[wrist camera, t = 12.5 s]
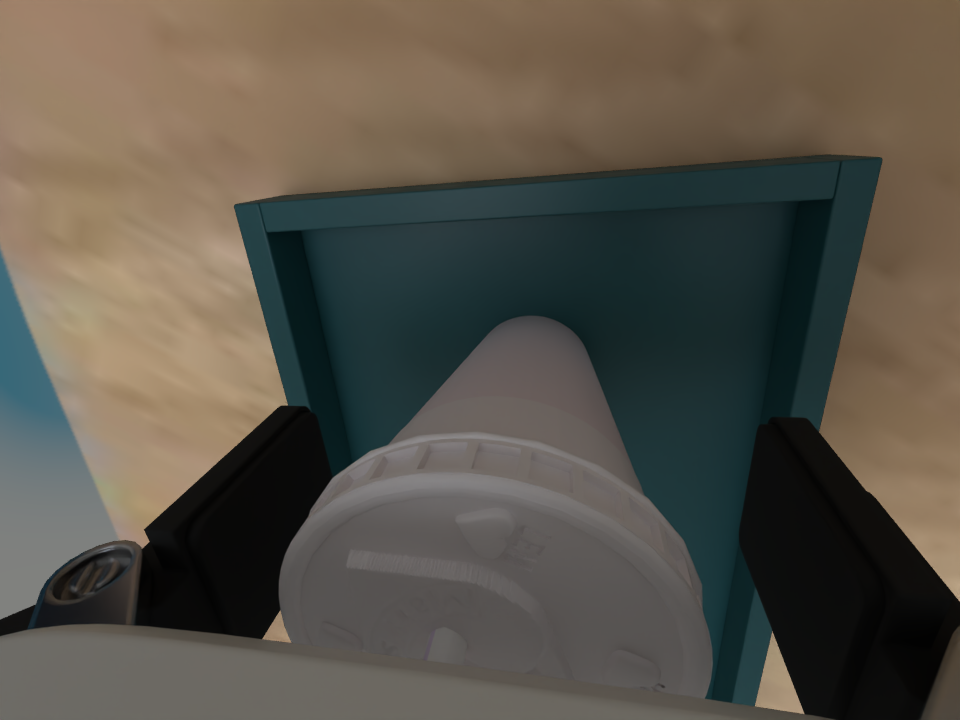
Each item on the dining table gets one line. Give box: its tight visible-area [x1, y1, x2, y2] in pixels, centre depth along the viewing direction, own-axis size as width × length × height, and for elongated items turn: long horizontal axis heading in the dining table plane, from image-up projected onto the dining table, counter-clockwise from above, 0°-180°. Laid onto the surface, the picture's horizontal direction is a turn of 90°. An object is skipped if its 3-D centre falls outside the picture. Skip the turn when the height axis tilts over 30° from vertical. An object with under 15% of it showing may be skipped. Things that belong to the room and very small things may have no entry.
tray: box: [234, 155, 882, 706], centre depth 18 cm, size 16×26×2 cm, turn 4°
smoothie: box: [279, 316, 713, 699], centre depth 9 cm, size 6×6×14 cm
